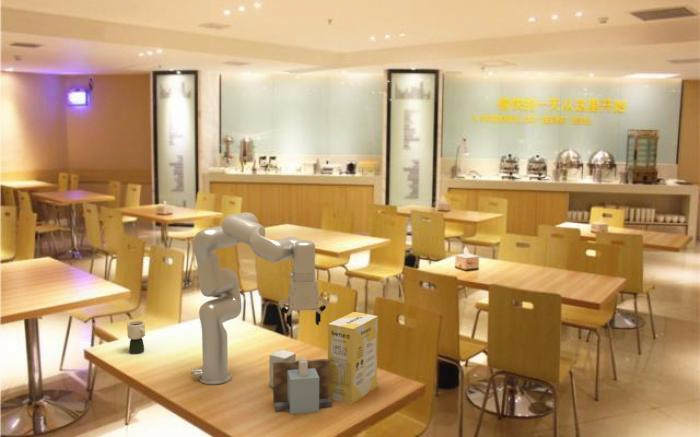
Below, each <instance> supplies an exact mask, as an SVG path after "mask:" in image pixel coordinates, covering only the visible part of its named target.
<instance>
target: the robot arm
mask: <svg viewBox="0 0 700 437" xmlns="http://www.w3.org/2000/svg"><path fill="white" fill-rule="evenodd" d="M240 243H243V244H245V245H247V246H249V247H250V249H251V251H252V252H253V253H254V255H256V256H257V257H258V258H261V259H263V260H265V261H268V262H272V263H279V262H284V261H288V260H292V272H291V273H288V278H289V279H291V280H290V285H289V289H288V290H289V292H288V296H287V297H285V298H284V299H283V298H282V300H279V301H278V305H279V307H280V310H281V311H282V312H283V313H284V314H285V316H286V317H285V318H286V324H287V325H288V327H289V328H290V327H292V312H293V311H297V312H298V311H313V310H314V311H315V318H314V319H315V322H314V323H315V324H316V325H317V326H319V325H320V323H321V322H322V320H321V319H322V318H321V314H323V311H325V310H326V308H327V306H328V305H329V300H328V299H327V298H325V297H322V296H320V294H319V293H320V292H319V284H318V280H317V279H315V278H316V277H315V276H316V275H315V274H316V272H315V271H316V244H315V243H314V241H312V240H304V239H303V240H302V239H300V238H298V237H295V236H289V237H283V238H279V239H278V238H277V239H275V240H272V239H270V238H267V237H266V229H265V227H264V226H263V225H262V224H260V223H259V220H258V217H257V216H255V214H254V213H251V212H248V211H247V212H241V213H239V212H238V213H233V214H229V215H227V216H225V217H224V218H223V219H222V222H221V225H220V226H219V225H218V226H213V227H212V226H211V227H208V228H203V229H201V230H199V231H198V232H196V234H195V235H194V236H193V240H192V250H193V254H194V257H195V260H196V266H197V276H198V285H199V288H200V289H199V290H200V292H201V294H202V296H204V297H207V298H209V297H210V298H212V297H216V296H219V295H221V297H216V298H214V299H209V300H208V301H206V302H204V303H202V305H201V306H200V308H199V310H198V316H199V320H200V321H199V322H200V325H201V326H200V328H201V342H202V344H201V345H202V348H201V349H202V365H201V367H200V368H198V369H197V368H196V369H195V368H191V369H190V374H191V375H193V376H194V377H198V380H199V382H200V383H203V384H205V385H221V384H226V383H228V382H229V381H231V379H233V378H232V377H233V374H232V373H231V372H230V371H228V370H229V367H228V361H229V360H228V359H229V357H228V351H229V349H228V332H227V330H226V328H225V326H224V325H223V324H224V323H225V322H227V321H231V320H234V319H236V318H238V317H239V316H240V315H241V313H242V308H243V307H242V298H241V290H240V282H239V278H238V277H239V276H238V275H237V274H236V272H235V271H234V270H232V269H231V268H228V267H225V268H221V264H220V263H221V262H220V258H219V256H218V255H217V253H216V252H215V250H220V249H226V248H230V247H231V248H232V247H233V246H236V245H238V244H240ZM320 302H322V305H320ZM287 303H288V307H287V308H286V307H285V304H287Z"/></svg>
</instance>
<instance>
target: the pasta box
mask: <svg viewBox="0 0 700 437" xmlns="http://www.w3.org/2000/svg"><path fill="white" fill-rule="evenodd" d="M378 325H379V316H378V315H374V314H368V313H364V312H356V311H353V312H350V313H348V314H347V315H344V316H342V317H340V318H337V319H336V320H334V321H332V322H330V323H328V325H327V326H328V327H327V333H328V334H327V359H329V398H331V400H335V401H338V402H342V403H347V404H350V405H353V404H354V403H356V402H357V401H358V400H360V399H362V398H363V397H365V395H367V394H369V393H370V392H371V391H373V390H374V389H376V388H377V382H378V381H377V376H378V375H377V373H378V338H379V337H378V332H379V330H378V328H379V326H378Z"/></svg>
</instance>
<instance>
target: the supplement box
mask: <svg viewBox="0 0 700 437" xmlns="http://www.w3.org/2000/svg"><path fill="white" fill-rule="evenodd" d="M296 359H297V358H296V352H292V351H288V350H284V349H280V350H278V351H275V352H273V353H271V354H269V384H268V385H269V387H271V388H273V362H285V361H296Z"/></svg>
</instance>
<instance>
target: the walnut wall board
mask: <svg viewBox="0 0 700 437" xmlns="http://www.w3.org/2000/svg"><path fill="white" fill-rule="evenodd" d="M307 362H308V368H315V369H316V371H317V374H318V376H319V409H328V408H333V401H332V399H331V398H329V359H328V358H319V359H307ZM292 369H299V360H295V361H285V362H273V387H272V389H273V390H272V395H273V396H272V397H273V398H272V404H274V411H275V413H277V412H278V413H279V412H290V404H289V402H287V370H292Z"/></svg>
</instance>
